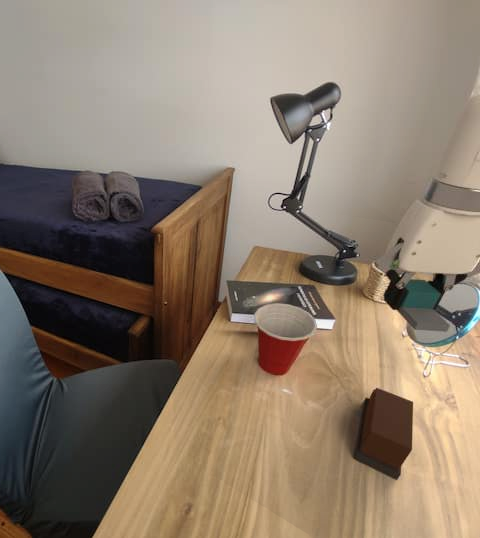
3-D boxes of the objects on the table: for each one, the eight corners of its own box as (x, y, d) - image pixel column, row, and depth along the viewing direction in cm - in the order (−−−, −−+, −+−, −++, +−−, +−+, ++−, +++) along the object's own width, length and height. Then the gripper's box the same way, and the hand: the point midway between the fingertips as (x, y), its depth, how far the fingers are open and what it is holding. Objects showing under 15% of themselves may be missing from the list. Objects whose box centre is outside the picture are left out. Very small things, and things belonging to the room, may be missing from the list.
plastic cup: (239, 345, 78) (249, 300, 72) (291, 348, 77) (305, 302, 71) (250, 384, 68) (262, 336, 62) (309, 387, 67) (327, 339, 61)
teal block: (382, 295, 60) (391, 275, 58) (411, 296, 60) (421, 276, 57) (414, 329, 52) (425, 307, 50) (447, 332, 52) (459, 309, 50)
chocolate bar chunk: (363, 402, 64) (375, 377, 61) (400, 418, 61) (416, 392, 58) (353, 459, 55) (367, 432, 52) (397, 480, 52) (414, 453, 49)
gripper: (508, 188, 50) (449, 296, 59) (379, 185, 52) (342, 290, 61) (558, 207, 44) (483, 324, 53) (409, 203, 46) (362, 317, 55)
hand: (408, 305), depth 57 cm, fingers closed on teal block, 4 cm apart
